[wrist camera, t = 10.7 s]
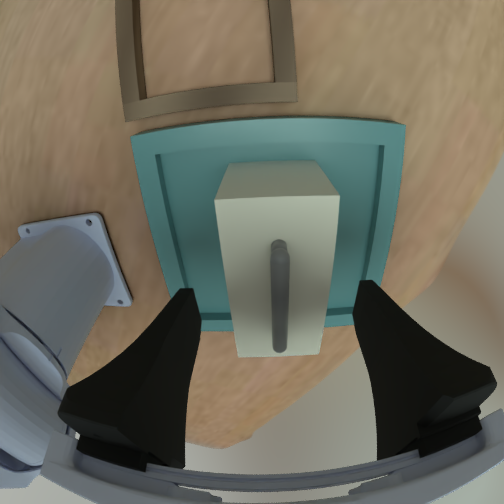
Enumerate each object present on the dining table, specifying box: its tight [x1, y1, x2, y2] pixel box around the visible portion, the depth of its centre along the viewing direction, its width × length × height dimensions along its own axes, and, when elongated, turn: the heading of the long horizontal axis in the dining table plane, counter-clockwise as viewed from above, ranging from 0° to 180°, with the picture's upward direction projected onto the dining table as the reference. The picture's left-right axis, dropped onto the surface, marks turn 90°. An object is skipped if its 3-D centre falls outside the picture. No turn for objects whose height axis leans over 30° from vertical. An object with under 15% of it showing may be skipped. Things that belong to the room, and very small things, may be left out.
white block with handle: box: [214, 160, 340, 357], centre depth 13 cm, size 4×9×6 cm, turn 4°
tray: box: [130, 116, 406, 331], centre depth 16 cm, size 14×14×2 cm
